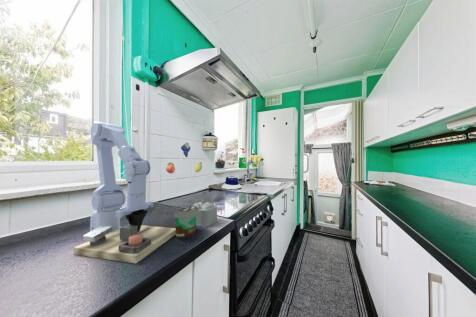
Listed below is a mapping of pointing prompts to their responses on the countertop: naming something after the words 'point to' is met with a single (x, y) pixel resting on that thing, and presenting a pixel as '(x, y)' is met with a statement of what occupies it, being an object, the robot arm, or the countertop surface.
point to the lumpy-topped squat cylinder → (206, 214)
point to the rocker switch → (97, 233)
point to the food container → (186, 221)
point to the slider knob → (127, 231)
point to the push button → (135, 240)
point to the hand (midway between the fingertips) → (135, 232)
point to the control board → (126, 245)
